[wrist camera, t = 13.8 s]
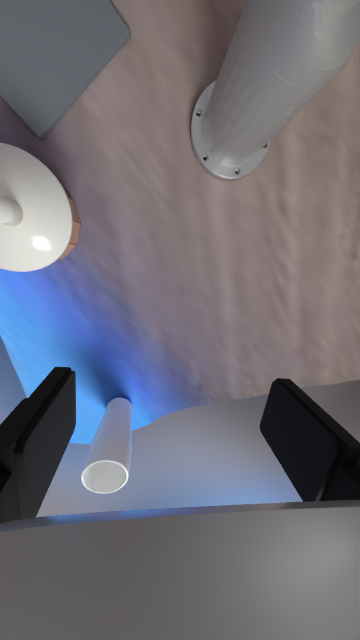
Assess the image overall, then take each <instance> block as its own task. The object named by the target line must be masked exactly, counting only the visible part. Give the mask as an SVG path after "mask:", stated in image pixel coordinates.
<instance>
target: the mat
mask: <svg viewBox="0 0 360 640" xmlns="http://www.w3.org/2000/svg"><path fill="white" fill-rule="evenodd" d="M130 36H131V33H130V30H129V29H128V27H127V26H126V24H125V23H124V21H123V20H122V18H121V17H120V16H119V14H118V13H117V11H116V10H115V8H114V7H113V5H112V4H111V2H110V1H109V0H0V96H1V97H2V98H3V99H4V100H5V101H6V102H7V104H8V105H9V106H10V107H11V108H12V109H13V110H14V111H15V112H16V113H17V114H18V115H19V117H20V118H21V119H22V120H23V121H24V122H25V123H26V124H27V125H28V126H29V127H30V128H31V130H32V131H33V132H34V133H35V134H36V135H37V136H38V137H39V138H40V139H41V140H42V139H43V138H44V137H45V135H46V134H47V133H48V132H49V131H50V130H51V128H52V127H53V126H54V125H55V124H56V123H57V121H58V120H59V119H60V118H61V117H62V116H63V114H64V113H65V112H66V111H67V110H68V109H69V107H70V106H71V105H72V104H73V103H74V102H75V100H76V99H77V98H78V97H79V96H80V95H81V93H82V92H83V91H84V90H85V89H86V88H87V86H88V85H89V84H90V83H91V82H92V81H93V79H94V78H95V77H96V76H97V75H98V74H99V72H100V71H101V70H102V69H103V68H104V67H105V65H106V64H107V63H108V62H109V61H110V60H111V59H112V57H113V56H114V55H115V54H116V53H117V52H118V50H119V49H120V48H121V47H122V46H123V45H124V43H125V42H126V41H127V40H128V39H129V38H130Z"/></svg>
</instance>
